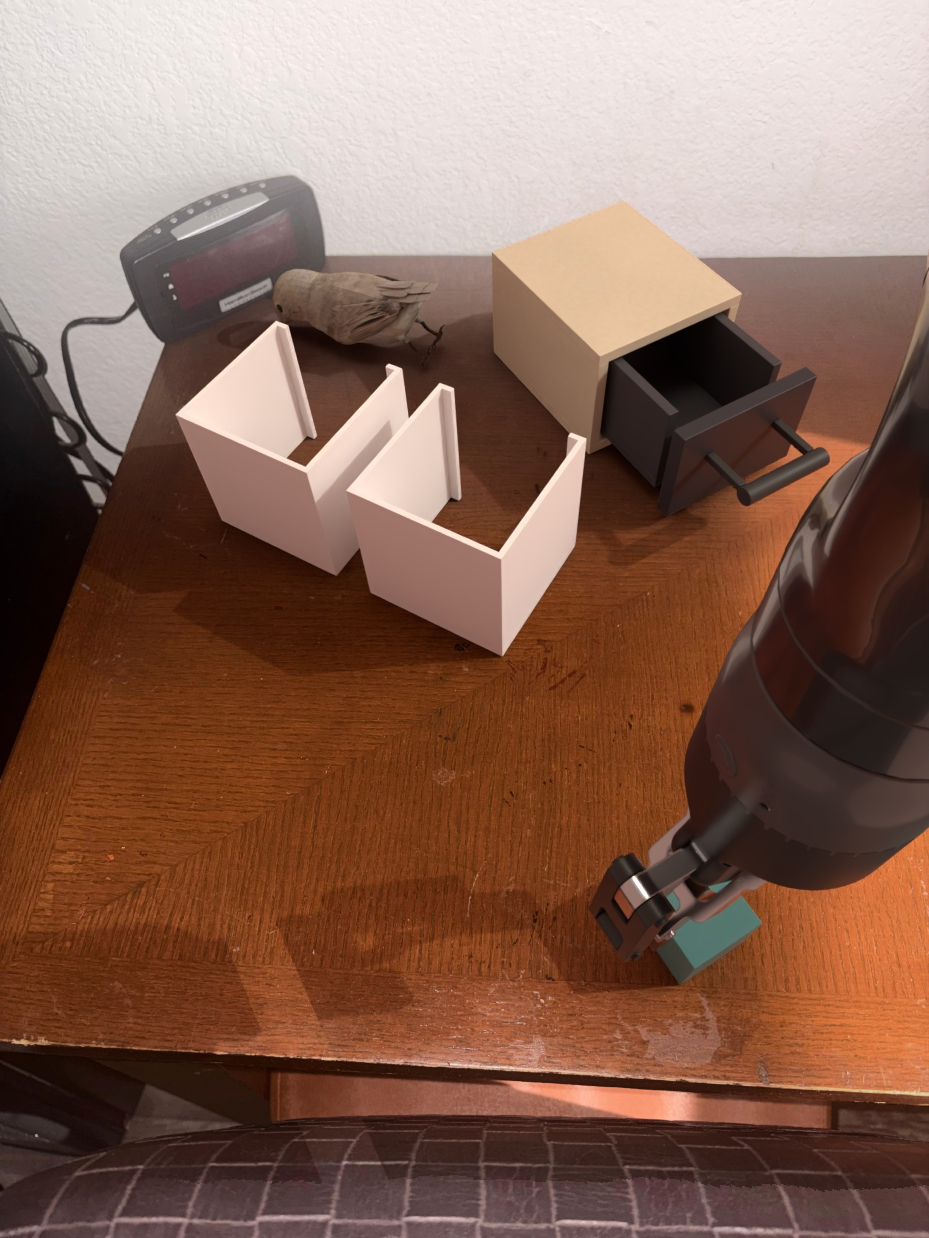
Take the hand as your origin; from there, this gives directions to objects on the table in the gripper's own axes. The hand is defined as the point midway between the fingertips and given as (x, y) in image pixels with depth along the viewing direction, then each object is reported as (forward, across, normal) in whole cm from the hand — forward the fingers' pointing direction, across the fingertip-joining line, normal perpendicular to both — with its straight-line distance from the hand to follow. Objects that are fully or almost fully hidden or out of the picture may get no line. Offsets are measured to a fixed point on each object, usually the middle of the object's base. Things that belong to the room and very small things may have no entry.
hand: (718, 880), depth 40 cm
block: (+9, 0, 0) cm, 9 cm away
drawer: (+8, +23, +28) cm, 37 cm away
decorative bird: (+10, +7, +55) cm, 57 cm away
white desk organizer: (+10, -1, +34) cm, 35 cm away
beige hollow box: (+9, +23, +40) cm, 47 cm away
